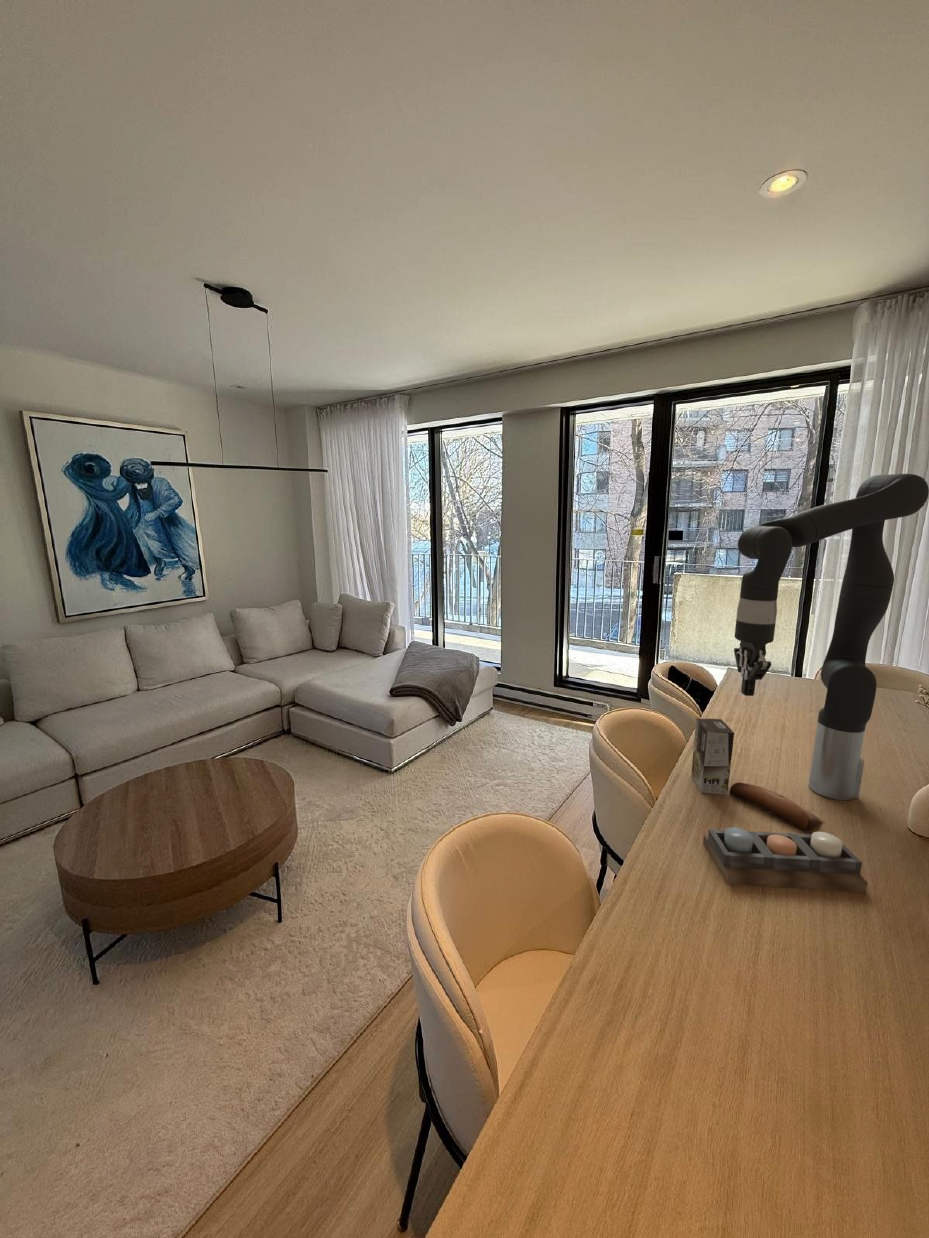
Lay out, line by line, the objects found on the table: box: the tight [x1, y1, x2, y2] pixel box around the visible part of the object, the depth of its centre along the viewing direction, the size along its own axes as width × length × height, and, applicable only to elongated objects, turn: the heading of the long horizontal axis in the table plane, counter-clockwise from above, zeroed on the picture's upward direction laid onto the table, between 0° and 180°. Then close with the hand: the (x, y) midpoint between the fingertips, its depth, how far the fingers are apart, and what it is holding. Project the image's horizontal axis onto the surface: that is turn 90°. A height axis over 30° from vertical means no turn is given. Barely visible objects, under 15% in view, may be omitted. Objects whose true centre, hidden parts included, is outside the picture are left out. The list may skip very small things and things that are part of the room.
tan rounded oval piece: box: [767, 835, 797, 856], centre depth 98 cm, size 5×5×3 cm
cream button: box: [810, 831, 844, 858], centre depth 97 cm, size 5×5×3 cm
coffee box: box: [690, 717, 736, 796], centre depth 127 cm, size 9×6×16 cm
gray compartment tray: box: [702, 829, 869, 893], centre depth 98 cm, size 24×12×4 cm, turn 85°
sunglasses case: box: [729, 782, 825, 834], centre depth 117 cm, size 18×7×7 cm, turn 29°
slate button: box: [724, 827, 753, 853], centre depth 98 cm, size 5×5×3 cm
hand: (747, 694), depth 114 cm, fingers closed
